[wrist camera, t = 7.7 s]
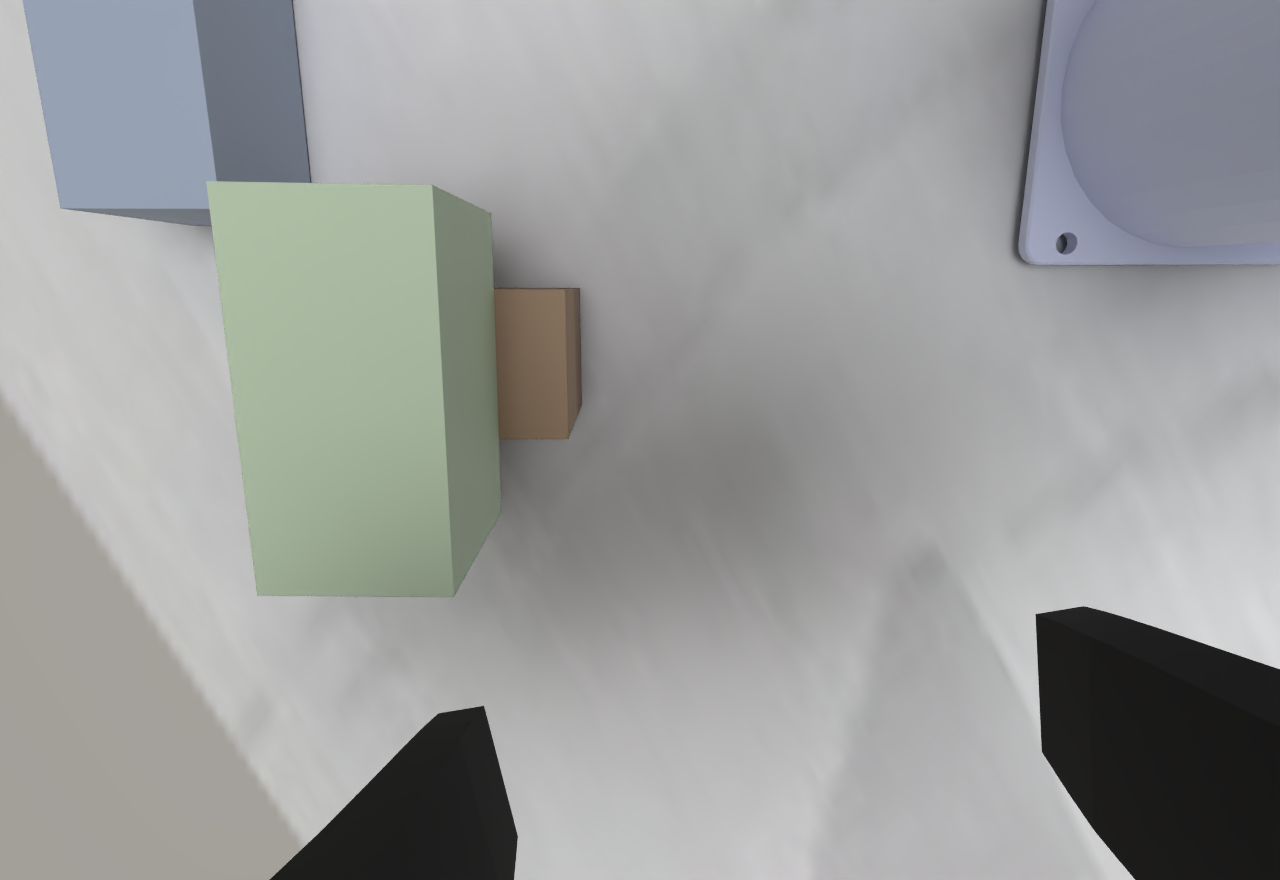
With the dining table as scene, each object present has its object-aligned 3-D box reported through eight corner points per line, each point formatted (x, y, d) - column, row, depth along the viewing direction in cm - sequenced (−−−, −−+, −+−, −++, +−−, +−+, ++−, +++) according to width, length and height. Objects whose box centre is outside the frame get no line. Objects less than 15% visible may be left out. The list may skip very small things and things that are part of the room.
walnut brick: (579, 288, 17) (565, 290, 13) (581, 405, 18) (567, 439, 14) (341, 287, 17) (257, 289, 13) (352, 404, 18) (275, 439, 14)
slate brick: (153, -51, 15) (-7, -164, 12) (286, -51, 15) (171, -162, 12) (192, 225, 17) (60, 208, 13) (314, 225, 17) (219, 208, 13)
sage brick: (501, 511, 14) (453, 596, 10) (358, 510, 14) (257, 595, 10) (491, 213, 13) (432, 185, 9) (333, 211, 13) (206, 180, 9)
